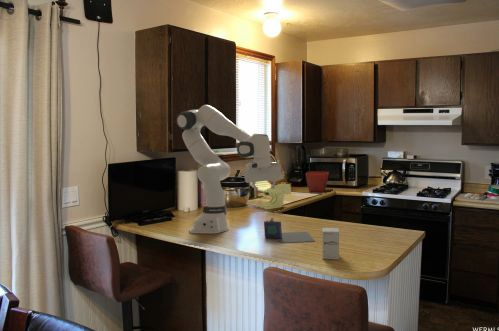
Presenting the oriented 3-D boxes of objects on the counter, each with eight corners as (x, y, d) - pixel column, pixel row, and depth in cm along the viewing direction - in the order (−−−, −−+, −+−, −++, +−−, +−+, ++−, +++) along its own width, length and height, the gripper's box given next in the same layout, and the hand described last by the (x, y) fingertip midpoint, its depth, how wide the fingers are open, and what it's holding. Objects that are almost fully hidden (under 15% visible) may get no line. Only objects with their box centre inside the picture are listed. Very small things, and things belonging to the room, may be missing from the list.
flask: (282, 237, 230) (281, 217, 229) (281, 238, 227) (280, 218, 226) (265, 237, 232) (264, 217, 231) (264, 238, 229) (262, 218, 228)
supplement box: (322, 259, 191) (322, 231, 190) (322, 254, 199) (322, 227, 197) (339, 260, 190) (339, 231, 189) (338, 255, 197) (338, 227, 196)
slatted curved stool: (291, 208, 312) (291, 183, 310) (272, 211, 303) (272, 185, 302) (268, 202, 337) (267, 179, 336) (250, 205, 329) (250, 181, 328)
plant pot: (328, 189, 396) (328, 171, 394) (327, 193, 377) (327, 173, 376) (307, 189, 400) (307, 171, 399) (305, 192, 382) (305, 173, 380)
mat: (279, 243, 220) (279, 242, 220) (274, 233, 240) (274, 233, 240) (315, 241, 221) (315, 241, 221) (307, 232, 241) (307, 231, 241)
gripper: (278, 161, 237) (280, 186, 238) (242, 165, 230) (244, 190, 231) (283, 162, 231) (284, 187, 232) (246, 165, 224) (248, 192, 225)
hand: (264, 189), depth 231 cm, fingers open, 8 cm apart
